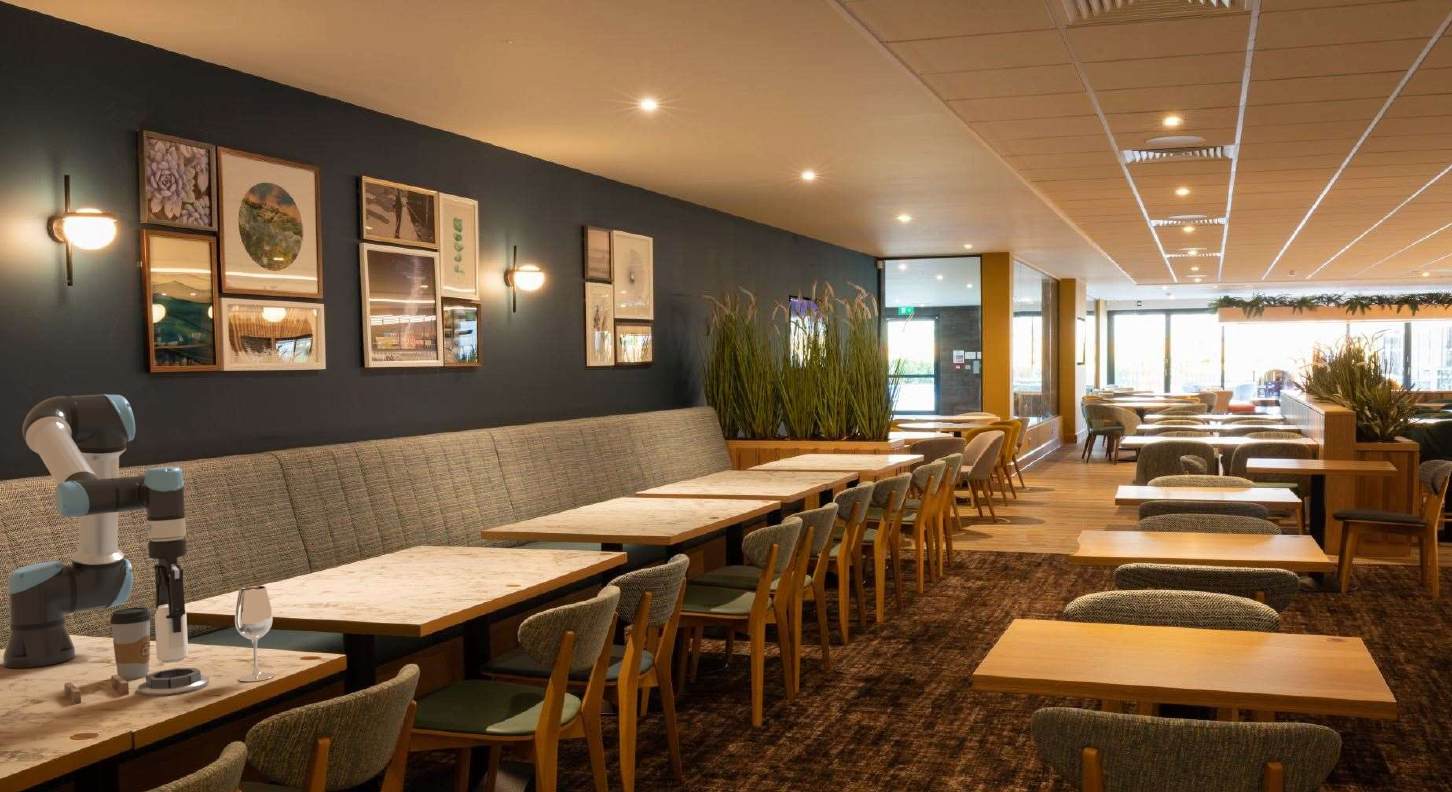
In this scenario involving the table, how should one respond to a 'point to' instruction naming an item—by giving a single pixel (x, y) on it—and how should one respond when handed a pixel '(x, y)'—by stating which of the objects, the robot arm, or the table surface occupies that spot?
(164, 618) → the beverage can
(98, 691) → the table surface
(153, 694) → the hub collar
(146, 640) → the coffee cup
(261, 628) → the wineglass
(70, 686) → the walnut cradle
